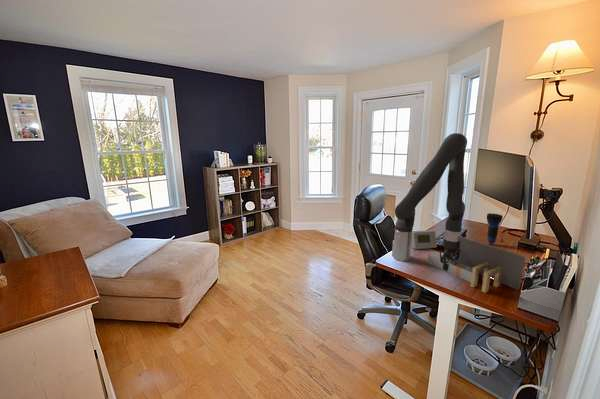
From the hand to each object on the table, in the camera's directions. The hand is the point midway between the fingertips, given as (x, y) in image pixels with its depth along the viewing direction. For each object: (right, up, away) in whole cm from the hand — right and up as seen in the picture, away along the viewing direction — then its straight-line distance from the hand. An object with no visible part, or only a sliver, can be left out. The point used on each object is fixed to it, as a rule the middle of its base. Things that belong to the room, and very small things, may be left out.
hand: (448, 268), depth 138 cm
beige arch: (+7, -4, -13) cm, 16 cm away
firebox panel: (+14, -2, -5) cm, 15 cm away
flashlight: (+45, +7, +32) cm, 56 cm away
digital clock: (0, +6, +29) cm, 29 cm away
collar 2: (+9, -5, -18) cm, 21 cm away
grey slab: (+1, -1, -1) cm, 2 cm away
